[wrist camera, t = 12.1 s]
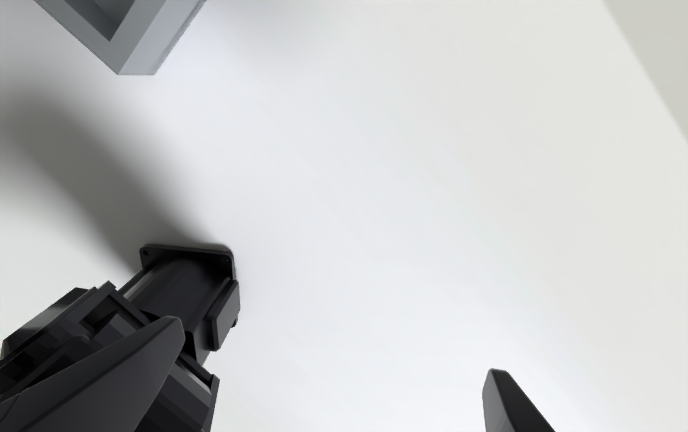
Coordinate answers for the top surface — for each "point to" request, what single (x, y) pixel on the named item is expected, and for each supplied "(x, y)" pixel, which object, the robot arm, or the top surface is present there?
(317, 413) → the top surface
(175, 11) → the tray
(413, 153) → the top surface
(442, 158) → the top surface
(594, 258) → the top surface
